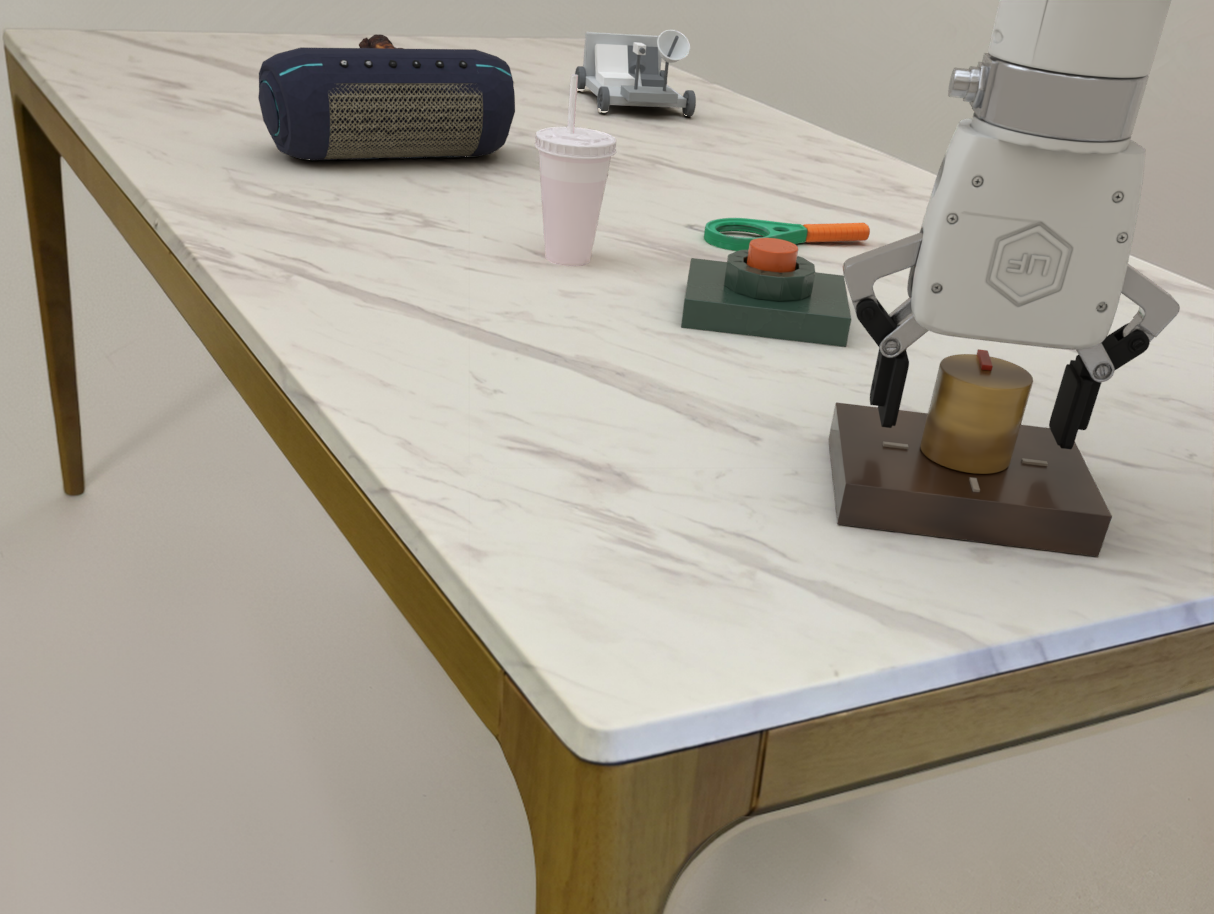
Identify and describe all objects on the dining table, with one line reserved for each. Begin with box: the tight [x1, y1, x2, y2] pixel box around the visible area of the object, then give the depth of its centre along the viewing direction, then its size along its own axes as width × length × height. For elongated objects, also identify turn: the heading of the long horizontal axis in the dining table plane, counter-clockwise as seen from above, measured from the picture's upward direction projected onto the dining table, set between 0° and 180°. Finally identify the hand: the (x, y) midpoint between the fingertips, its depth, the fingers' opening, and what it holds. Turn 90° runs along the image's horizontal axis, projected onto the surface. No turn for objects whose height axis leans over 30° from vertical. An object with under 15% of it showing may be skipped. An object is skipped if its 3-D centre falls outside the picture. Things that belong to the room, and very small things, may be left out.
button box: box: [680, 250, 852, 348], centre depth 95 cm, size 12×10×4 cm
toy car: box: [574, 29, 697, 117], centre depth 154 cm, size 18×10×12 cm
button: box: [747, 237, 799, 273], centre depth 93 cm, size 4×4×2 cm
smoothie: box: [534, 73, 617, 267], centre depth 99 cm, size 6×6×14 cm
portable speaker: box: [257, 47, 516, 161], centre depth 123 cm, size 25×10×10 cm, turn 115°
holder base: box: [828, 402, 1113, 558], centre depth 72 cm, size 14×11×3 cm
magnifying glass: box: [703, 217, 871, 252], centre depth 112 cm, size 15×6×2 cm, turn 105°
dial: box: [920, 349, 1034, 474], centre depth 70 cm, size 5×5×5 cm
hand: (972, 428), depth 70 cm, fingers open, 9 cm apart
